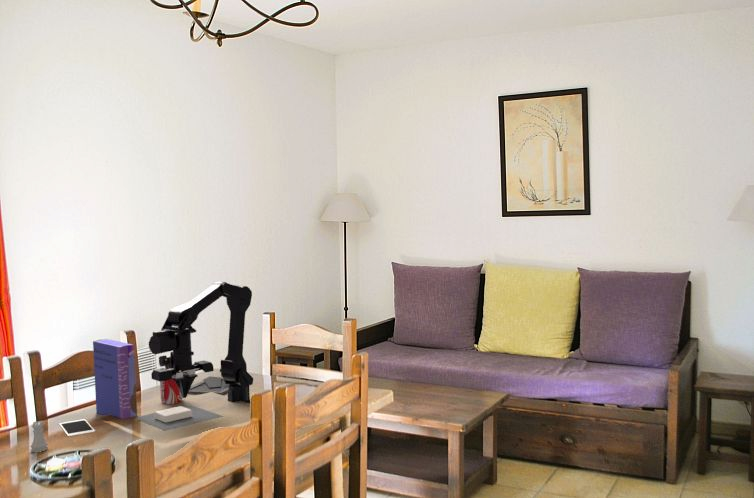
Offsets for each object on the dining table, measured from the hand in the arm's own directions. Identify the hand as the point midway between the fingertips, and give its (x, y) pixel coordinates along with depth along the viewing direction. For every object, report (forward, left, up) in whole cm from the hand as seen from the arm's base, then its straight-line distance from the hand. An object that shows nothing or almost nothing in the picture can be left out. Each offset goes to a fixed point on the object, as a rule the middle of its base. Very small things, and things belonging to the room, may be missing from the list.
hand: (184, 397), depth 238 cm
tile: (0, 0, -4) cm, 4 cm away
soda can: (-6, -19, -7) cm, 21 cm away
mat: (+2, 0, -7) cm, 7 cm away
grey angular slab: (-29, -29, -8) cm, 41 cm away
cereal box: (+13, -20, -7) cm, 25 cm away
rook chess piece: (+43, -3, -7) cm, 44 cm away
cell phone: (+27, -17, -7) cm, 33 cm away
